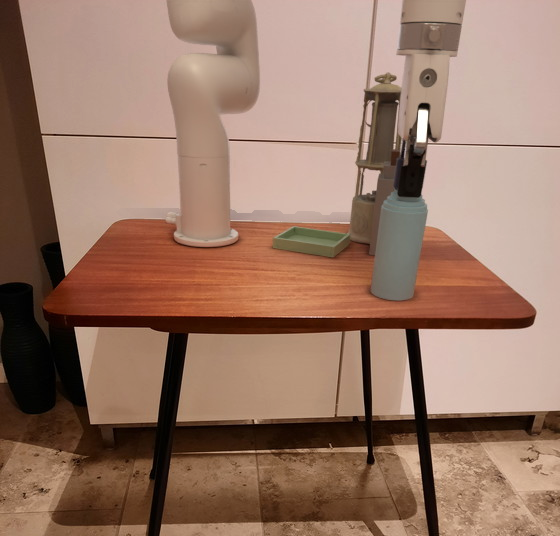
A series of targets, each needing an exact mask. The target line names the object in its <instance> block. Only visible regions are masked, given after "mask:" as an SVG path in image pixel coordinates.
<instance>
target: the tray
mask: <svg viewBox="0 0 560 536" xmlns="http://www.w3.org/2000/svg"><path fill="white" fill-rule="evenodd" d="M350 236H351V234H347V232H346V233H345V232H339V231H331V230H324V229H316V228H310V227H303V226H297V225H293V226H291V227H289V228H288V229H285V230H284V231H282V232H281V233H279V234H277V235H275V236H273V237H272V249H277V250H283V251H288V252H294V253H301V254H307V255H315V256H321V257H327V258H335V257H336V256H337V255H339V254H340V253H341V252H342V251H344V250H345V249H346V248H347V247H348V246H349V245H350V244H351V240H350Z"/></svg>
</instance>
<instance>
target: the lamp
mask: <svg viewBox="0 0 560 536" xmlns="http://www.w3.org/2000/svg"><path fill="white" fill-rule="evenodd" d="M373 79H374V82H375V83H377V84H376V85H373V86H372V87H370V88H363V92H364V96H363V112H362V120H361V125H360V129H359V138H358V146H357V148H358V151H357V156H356V160H355V162H354V163H355V165H356V166H357V169H358V171H357V178H356V185H355V194H354V196H353V197H352V200H351V210H350V219H349V227H348V230H347V232H346V234H351V236H350V241H351V242H355V243H359V244H367V245H370V241H371V233H372V224H373V215H374V207H375V198H376V190H371V192H366V193H365V194H363V189H364V179H365V174H364V173H365V171H366V170H369V171H375V172H376V171H377V172H378V171H379V173H380V174H384V168H383V165H384V161H387V162H391V151H392V149H398V150H401V143H402V138H401V137H400V135H399V134H398V122H397V120H398V119H399V110H398V108H399V106H400V96H401V88H402V86H401V87H400V85H398V84H394V83H392V82H396V81H397V79H398V78H397V75H395V74H392V73H391V72H386V73H385V74H379V75H377V76H375V77H374V78H373ZM370 102H372V103H371V106H372V108H371V119H370V122H371V123H370V124H369V123H368V122H366V120H365V118H366V111H367V107H368V105H369V104H370ZM396 123H397V125H396ZM365 125H366V126H367V127H368V128H369V135H368V143H367V151H366V157H365V159H361V152H362V145H363V136H364V128H365ZM395 134H396V136H395ZM394 146H395V147H394ZM361 169H362V172H361Z"/></svg>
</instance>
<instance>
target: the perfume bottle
mask: <svg viewBox="0 0 560 536" xmlns="http://www.w3.org/2000/svg"><path fill="white" fill-rule="evenodd" d="M400 150H401V149H400ZM400 150H398V149H395V148H393V149H392V151H391V162H387V161H384V165H383V168H384V174H380V172H378V173H379V174H378V177H377V183H376V190H375V191H376V198H375V207H374V215H373V224H372V233H371V241H370V244H369V251H368V255H369V256H375V252H376V245H377V237H378V229H379V221H380V214H381V206H382V205H383V203H384V200H387V197H388V196H391V192H394V190H395V187H393V183H394V175H395V168H396V162H397V158H399V157H400Z"/></svg>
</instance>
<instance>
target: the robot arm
mask: <svg viewBox="0 0 560 536" xmlns="http://www.w3.org/2000/svg"><path fill="white" fill-rule="evenodd" d="M466 3H467V0H402V1H401V10H400V20H399V27H398V28H399V29H398V36H397V37H398V38H397V46H396V56H403V57H404V56H405V57H404V64H403V73H402V81H401V96H400V106H399V105H398V111H399V119H398V118H397V123H398V134H399V135H400V137H401V138H402V140H401V147H400V148H401V149H400V157H404V162H403V165H401V169H400V176H399V184H398V192H397V194H398V196H399V197H414V198H419V197H420V196H421V194H422V192H423V188H422V186H423V187H424V182H423V180H424V181H425V176H424V173H425V174H426V170H425V161H426V160H427V153H428V145H429V140H430V141H431V142H432V143H434V144H435V143H438V142H440V141H441V139H442V134H443V126H444V125H443V124H444V118H445V110H446V103H447V102H446V101H447V94H448V86H449V76H450V75H449V74H450V61H451V60H450V58H455V57H458V51H459V46H460V39H461V34H462V27H463V21H464V15H465V10H466V9H465V8H466ZM166 7H167V15H168V20H169V25H170V28H171V30H172V33H173V34H174V36H175V37H176V38H177V39H178V40H179V41H181V42H184V43H188V44H191V45H200V46H211V47H215V48H216V53H208V52H207V53H206V52H192V53H191V52H190V53H186V54H183V55H180V56H179V57H178V58H176V59H175V60H174V61H173V62H172V63H171V65H170V67H169V70H168V73H167V78H166V79H167V84H166V85H167V92H168V96H169V101H170V104H171V109H172V114H173V120H174V128H175V138H176V139H175V140H176V154H177V165H178V166H177V168H178V171H177V172H178V186H179V187H178V189H179V209H180V213H178V212H171V211H168V213H166V217H165V224H166V225H175V227H176V230H175V231H174V232H173V238H174V241H175V242H177V243H179V244H181V245H184V246H190V247H196V248H216V247H224V246H229V245H233V244H234V243H236V242H238V240H239V232H238V231H237V230H236V229H234V228H231V155H230V153H231V152H230V139H229V135H228V132H227V129H226V126H225V124H224V122H223V120H222V117H221V116H222V115H241V114H245V113H247V112H249V111H250V110H252V109H253V108H254V106H255V105H256V104H257V101H258V100H259V96H260V92H261V91H260V90H261V68H260V52H259V50H260V49H259V36H258V22H257V21H258V20H257V14H256V9H255V6H254V3H253V1H252V0H166ZM400 157H399V158H400Z"/></svg>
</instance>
